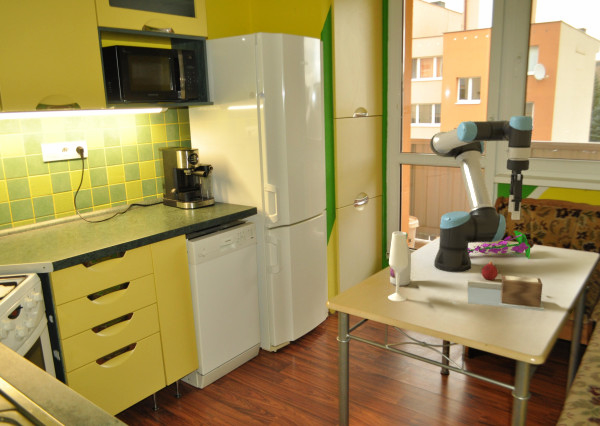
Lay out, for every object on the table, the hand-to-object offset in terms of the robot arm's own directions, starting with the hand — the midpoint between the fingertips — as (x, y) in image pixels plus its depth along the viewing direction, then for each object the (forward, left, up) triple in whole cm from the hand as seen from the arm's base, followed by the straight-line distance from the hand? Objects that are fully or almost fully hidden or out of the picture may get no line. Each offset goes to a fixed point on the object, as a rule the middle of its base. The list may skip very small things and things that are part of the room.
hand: (513, 215), depth 186 cm
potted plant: (-3, +36, -27) cm, 45 cm away
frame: (+2, -22, -26) cm, 34 cm away
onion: (-7, 0, -27) cm, 28 cm away
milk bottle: (-40, -11, -27) cm, 49 cm away
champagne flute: (-39, -27, -27) cm, 55 cm away
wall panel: (-3, -19, -27) cm, 33 cm away
